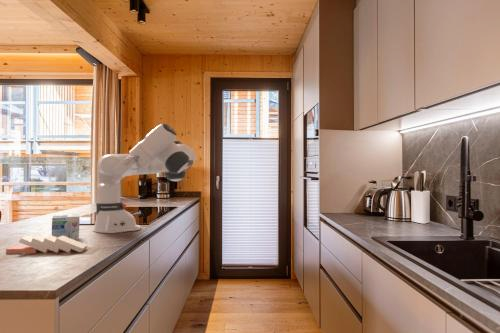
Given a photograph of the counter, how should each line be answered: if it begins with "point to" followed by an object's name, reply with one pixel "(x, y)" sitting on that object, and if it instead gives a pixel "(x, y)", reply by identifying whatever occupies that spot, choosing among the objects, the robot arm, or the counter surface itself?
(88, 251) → the thin board
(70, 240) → the domino
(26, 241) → the domino
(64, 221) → the light bulb box
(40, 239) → the domino
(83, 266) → the counter surface
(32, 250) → the domino
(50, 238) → the domino
